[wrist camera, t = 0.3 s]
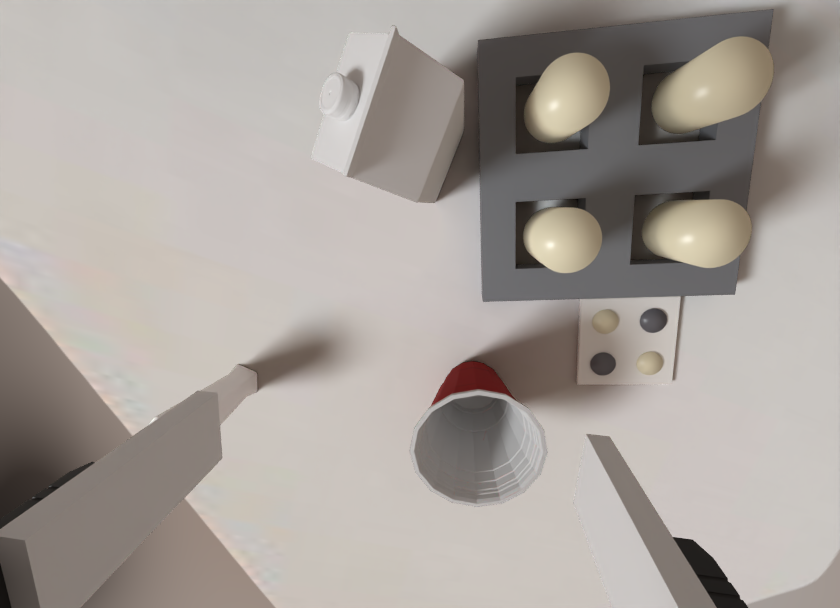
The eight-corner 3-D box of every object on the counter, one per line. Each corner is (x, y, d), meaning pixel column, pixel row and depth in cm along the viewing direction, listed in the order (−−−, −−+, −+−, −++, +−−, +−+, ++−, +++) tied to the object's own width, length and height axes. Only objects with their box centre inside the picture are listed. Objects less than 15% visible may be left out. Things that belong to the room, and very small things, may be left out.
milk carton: (464, 129, 37) (465, 54, 18) (435, 203, 38) (408, 202, 20) (393, 100, 37) (322, -5, 18) (367, 175, 38) (279, 148, 20)
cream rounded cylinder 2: (654, 70, 31) (697, 40, 26) (719, 64, 31) (779, 32, 25) (649, 136, 32) (689, 121, 27) (712, 131, 32) (767, 115, 26)
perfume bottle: (270, 388, 45) (179, 474, 31) (241, 404, 46) (140, 495, 32) (247, 354, 45) (143, 426, 30) (218, 371, 46) (103, 449, 31)
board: (477, 51, 35) (478, 40, 33) (750, 23, 32) (773, 9, 30) (481, 295, 40) (483, 301, 38) (717, 288, 38) (734, 294, 35)
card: (579, 297, 39) (582, 299, 38) (677, 295, 38) (681, 296, 37) (576, 382, 41) (578, 385, 40) (668, 381, 40) (672, 385, 39)
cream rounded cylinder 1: (523, 82, 32) (536, 56, 27) (585, 77, 32) (611, 49, 26) (523, 145, 34) (536, 133, 28) (582, 141, 33) (607, 127, 27)
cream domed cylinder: (644, 201, 34) (681, 201, 28) (705, 198, 33) (756, 197, 27) (639, 258, 35) (674, 269, 29) (699, 256, 34) (746, 266, 28)
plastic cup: (473, 450, 44) (476, 536, 33) (403, 385, 43) (381, 450, 32) (547, 388, 42) (580, 459, 30) (475, 318, 41) (479, 363, 29)
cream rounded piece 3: (523, 208, 35) (535, 209, 29) (580, 205, 34) (603, 205, 28) (522, 263, 36) (534, 274, 30) (578, 260, 35) (600, 272, 30)
